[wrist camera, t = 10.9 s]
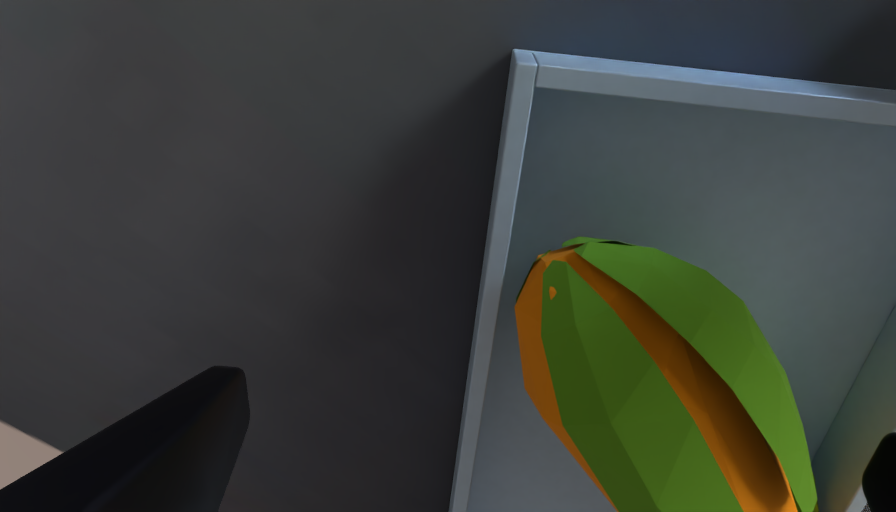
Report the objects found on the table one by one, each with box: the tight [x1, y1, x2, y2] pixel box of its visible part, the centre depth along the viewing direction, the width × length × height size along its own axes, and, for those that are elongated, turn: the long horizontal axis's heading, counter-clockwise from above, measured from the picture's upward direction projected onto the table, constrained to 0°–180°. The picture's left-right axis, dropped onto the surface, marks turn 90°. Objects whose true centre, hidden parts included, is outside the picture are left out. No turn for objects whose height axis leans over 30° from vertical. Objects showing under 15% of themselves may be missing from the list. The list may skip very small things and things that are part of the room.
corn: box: [515, 236, 819, 512], centre depth 19 cm, size 7×8×20 cm
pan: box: [449, 49, 896, 512], centre depth 22 cm, size 15×26×3 cm, turn 174°
